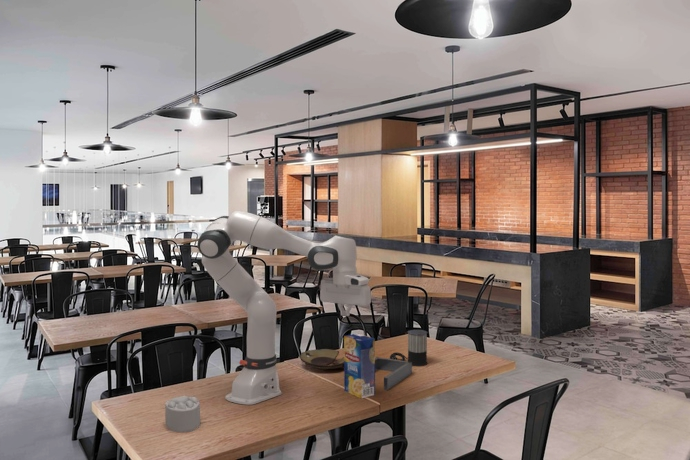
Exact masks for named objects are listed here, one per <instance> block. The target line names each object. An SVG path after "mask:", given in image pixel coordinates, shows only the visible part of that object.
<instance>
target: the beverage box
mask: <svg viewBox="0 0 690 460" xmlns="http://www.w3.org/2000/svg"><path fill="white" fill-rule="evenodd" d="M375 340H376V338H374V337H372V336H371V337H370V336H367V335H364V334H362V333H353V334H352V333H351V334H347V335H344V336H343V357H344V368H343V370H344V374H343V375H344V376H343V377H344V378H343V379H344V382H343V383H344V389H343V390H344V392H346V393H348V394H351V395H353V396H355V397H357V398H359V399H365V398H369V397H371V396H375V395H376V383H375V382H376V371H375V358H376V344H375V343H376V341H375Z"/></svg>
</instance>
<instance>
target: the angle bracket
mask: <svg viewBox="0 0 690 460" xmlns="http://www.w3.org/2000/svg"><path fill="white" fill-rule="evenodd" d="M401 360H402V359H401ZM401 360H400V359H397V360H394V359H390V358H387V357H386V358H385V357H378V356H375V372H377V371H378V370H381V371H387V372H391V373H388V374H387V375H385V376H384V377H383V390H384V391H389V390H390V389H392V388H393V387H395V386H396V385H398V384H399V383H400V382H401V381H403V380H405V379H406V378H407V377H409V376H410V375H412V374H413V365H412V362H408V360H404V361H401Z"/></svg>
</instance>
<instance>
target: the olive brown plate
mask: <svg viewBox="0 0 690 460" xmlns="http://www.w3.org/2000/svg"><path fill="white" fill-rule="evenodd" d="M339 354H340V351H339V350H336V349H331V348H330V349H329V348H321V349H320V348H319V349H311V350H309V349H308V350H306V351H303V352H301V354H300V355H299V356H300V357H299V359H300V361H301V362H302V363H304V364H306V365H308V366H310V367H312V368H316V369H320V370H333V369H339V368H343V369H344V356H343V357H342V358H341V357H340V358H339V359H337V360H336V358H337V357H338V356H339Z"/></svg>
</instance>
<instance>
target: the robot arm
mask: <svg viewBox="0 0 690 460" xmlns="http://www.w3.org/2000/svg"><path fill="white" fill-rule="evenodd" d="M236 241H240V242H244V243H246V244H248V245H250V246H253V247H257V248H259V249H264V250H274V249H275V250H277V249H279V250H281V249H282V250H286V251H289V252H292V253H295V254H297V255H300V256H304V257H305V258H307V262H308V265H309V266H310V267H311V268H313V269H314V270H316V271H325V270H328V269H329V270H330V269H332V277H327V276H325V277H324V278H322V279H321V280H320V294H319V299H320V302H322V303H333V304H337V308H338V310H339V311H340V316H345V317H350V315H351V314H350V311H351V310H352V308H353V306H361V307H362V306H363V307H367V306H369V305H370V304H371V303H372V292H371V287H370V285H368V284H369V283H370V279H369V278H368V277H367V276H364V275H363V274H362V275H361V274H360V273H358V269H357V266H356V265H357V263H356V262H357V260H358V259H357V257H358V254H357V244H356V240H355V239H354V238H353V237H352V236H350V235H349V236H348V235H344V234H336V235H334V236H333V237H331V238H330V239H328V240H325V241H312V240H309V239H306V238H303V237H301V236H299V235H295V234H293V233H290V232H289V231H287V230H286V229H284V228H283V227H281V226H280V225H277V223H275V222H273V221H271V220H269V219H268V218H265V217H263V216H260V215H258V214H255V213H251V212H247V211H243V210H234V211H232V213H230V214H229V215H221V216H219V217H217V218H215V220H213V221H212V222H211V223H210V224H209V225H207V227H205V230H204V232H202V233H201V234H200V235H199V238H198V240H197V250H198V251H199V253H200V254H201V255H202V257H201V264H202V265H203V267H204V268H205V270H206V272H207V273H208V274H209V276H210V277H212V279H213V281H215V283H217V284H218V285H219V287H221V289H223V290H224V292H225V293H226V294H227V295H228V296H229V297H230V298H231V299H232V300H234V301H235V303H237V304H238V305H239V306H240V307H241V308H242V309H243V310H244V312H245V313H246V314H247V325H246V327H247V329H246V355H245V359H244V360H243V359H240V360H239V365H240V366H243V368H242V369H241V371H240V372H239V373H238V375H237V376H236V377H235V379H233V381H232V383H231V385H232V386H231V392H229V393H228V394H226V395H225V400H226V401H228V402H231V403H234V404H240V405H249V406H250V405H252V406H253V405H256V404H258V403H261V402H264V401H267V400H270V399H272V398H275V397H278V396H282V390H281V389H280V382H279V373H278V371H277V368H276V366H277V355H276V327H277V311H278V309H277V308H278V307H277V304H276V302H275V300H274V299H273V298H272V297H271V296H270V295H269V294H268V292H266V290H264V289H263V288H262V287H261V285H260V284H259V283H258V282H257V281H256V280H255V279H254V278H253V276H251V275H250V274H249V272H248V271H247V270H246V269H245V268H244V267H243V266H242V265H241V264H240V263H239V262H238V261H237V259H235V257H233V256H232V254H231V252H230V248H231V247H232V246H233V244H234V242H236ZM344 305H346V309H345V308H344Z"/></svg>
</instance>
